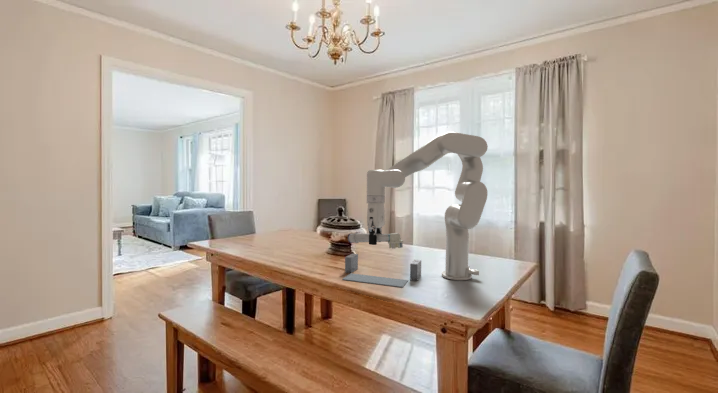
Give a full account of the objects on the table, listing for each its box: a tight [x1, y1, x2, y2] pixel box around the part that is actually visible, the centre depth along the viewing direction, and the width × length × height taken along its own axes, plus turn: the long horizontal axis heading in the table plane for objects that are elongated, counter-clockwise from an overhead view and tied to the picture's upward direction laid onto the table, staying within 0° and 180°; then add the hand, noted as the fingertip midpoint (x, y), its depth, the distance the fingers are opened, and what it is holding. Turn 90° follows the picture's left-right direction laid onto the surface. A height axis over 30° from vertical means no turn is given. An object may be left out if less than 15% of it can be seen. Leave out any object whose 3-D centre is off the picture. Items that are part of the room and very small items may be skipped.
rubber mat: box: [341, 272, 409, 288], centre depth 142 cm, size 26×9×1 cm, turn 68°
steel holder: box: [344, 253, 422, 282], centre depth 151 cm, size 33×8×7 cm, turn 68°
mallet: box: [347, 232, 404, 249], centre depth 141 cm, size 5×7×25 cm
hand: (375, 242), depth 141 cm, fingers closed on mallet, 5 cm apart
